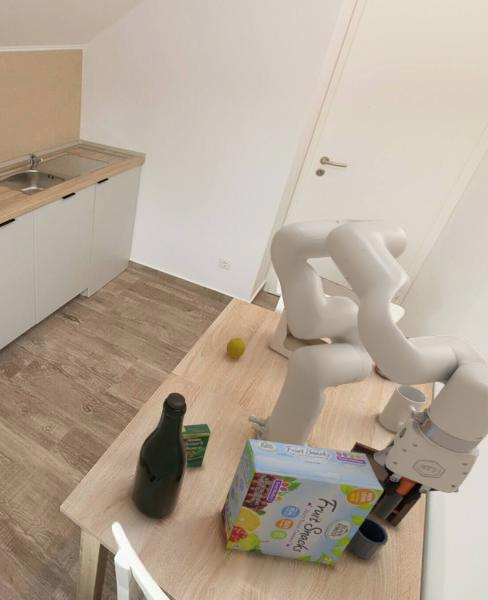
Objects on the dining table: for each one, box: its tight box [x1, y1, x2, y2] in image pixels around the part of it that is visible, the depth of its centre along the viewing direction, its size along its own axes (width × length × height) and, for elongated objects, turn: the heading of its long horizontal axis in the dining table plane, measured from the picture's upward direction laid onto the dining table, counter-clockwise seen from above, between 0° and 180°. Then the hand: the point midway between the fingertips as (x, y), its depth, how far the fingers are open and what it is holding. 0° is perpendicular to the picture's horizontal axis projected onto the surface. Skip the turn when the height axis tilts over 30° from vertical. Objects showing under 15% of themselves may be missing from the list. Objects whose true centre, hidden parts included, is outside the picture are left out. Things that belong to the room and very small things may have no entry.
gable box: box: [269, 275, 360, 359], centre depth 132 cm, size 22×13×28 cm, turn 36°
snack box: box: [220, 438, 384, 567], centre depth 83 cm, size 22×9×26 cm, turn 81°
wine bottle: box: [130, 392, 188, 520], centre depth 88 cm, size 10×10×33 cm
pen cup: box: [346, 516, 389, 561], centre depth 87 cm, size 6×6×6 cm
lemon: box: [226, 337, 246, 359], centre depth 137 cm, size 6×6×8 cm
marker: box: [373, 476, 417, 520], centre depth 80 cm, size 2×2×12 cm
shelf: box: [349, 441, 422, 527], centre depth 94 cm, size 12×8×12 cm, turn 59°
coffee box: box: [182, 423, 212, 468], centre depth 101 cm, size 8×3×13 cm, turn 94°
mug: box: [378, 384, 428, 434], centre depth 112 cm, size 10×7×12 cm, turn 155°
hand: (396, 493), depth 79 cm, fingers closed on marker, 2 cm apart
